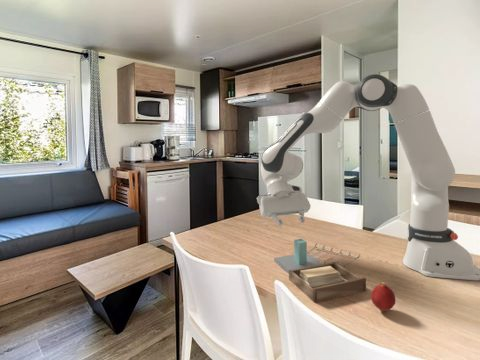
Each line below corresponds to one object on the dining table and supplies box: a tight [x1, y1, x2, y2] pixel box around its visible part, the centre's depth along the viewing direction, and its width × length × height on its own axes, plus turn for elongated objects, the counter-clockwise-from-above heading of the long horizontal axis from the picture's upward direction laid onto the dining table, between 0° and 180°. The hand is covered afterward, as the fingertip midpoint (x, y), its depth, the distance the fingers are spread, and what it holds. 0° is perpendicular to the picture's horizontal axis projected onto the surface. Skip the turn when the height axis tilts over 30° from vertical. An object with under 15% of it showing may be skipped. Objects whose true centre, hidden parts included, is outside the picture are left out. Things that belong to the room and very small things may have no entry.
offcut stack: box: [299, 266, 344, 288], centre depth 98 cm, size 6×13×3 cm, turn 109°
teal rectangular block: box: [293, 238, 308, 265], centre depth 109 cm, size 4×3×8 cm
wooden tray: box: [288, 261, 367, 303], centre depth 95 cm, size 15×18×4 cm
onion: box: [370, 282, 397, 312], centre depth 80 cm, size 6×6×8 cm
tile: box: [273, 252, 324, 275], centre depth 109 cm, size 14×14×1 cm
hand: (291, 223), depth 113 cm, fingers open, 8 cm apart
